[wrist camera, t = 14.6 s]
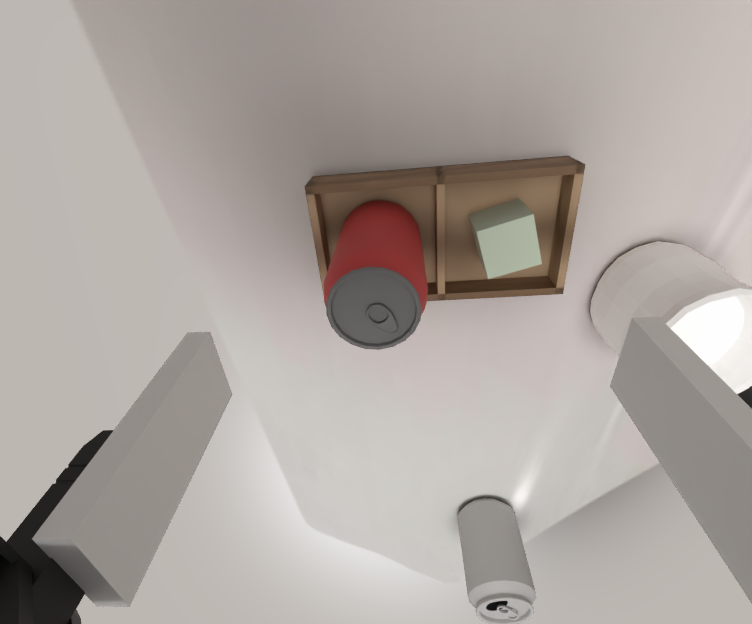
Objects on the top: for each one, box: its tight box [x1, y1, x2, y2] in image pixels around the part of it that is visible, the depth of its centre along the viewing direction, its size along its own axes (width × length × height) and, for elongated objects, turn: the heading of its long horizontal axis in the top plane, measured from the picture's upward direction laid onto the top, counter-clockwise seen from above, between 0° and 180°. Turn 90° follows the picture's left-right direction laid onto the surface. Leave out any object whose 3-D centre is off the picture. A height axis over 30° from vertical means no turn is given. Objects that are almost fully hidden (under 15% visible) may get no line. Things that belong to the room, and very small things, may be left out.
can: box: [458, 498, 536, 624], centre depth 49 cm, size 8×8×12 cm
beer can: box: [324, 200, 428, 349], centre depth 28 cm, size 7×7×12 cm
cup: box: [590, 241, 752, 394], centre depth 32 cm, size 10×10×10 cm
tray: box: [305, 156, 585, 301], centre depth 33 cm, size 10×20×3 cm, turn 95°
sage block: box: [468, 198, 542, 279], centre depth 31 cm, size 4×4×4 cm
